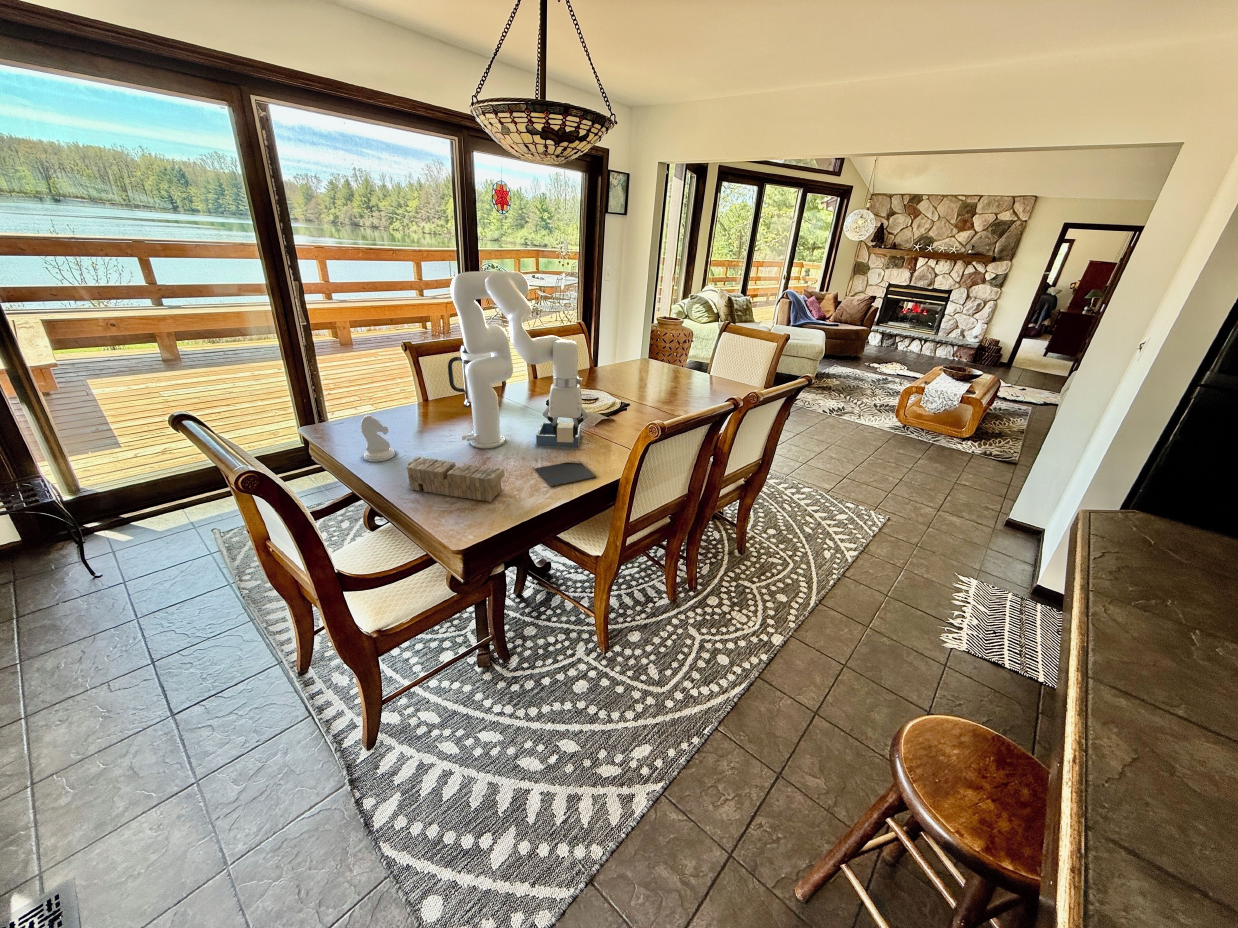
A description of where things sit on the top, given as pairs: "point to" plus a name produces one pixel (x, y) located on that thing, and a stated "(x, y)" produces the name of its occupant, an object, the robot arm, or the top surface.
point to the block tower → (455, 479)
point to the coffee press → (465, 360)
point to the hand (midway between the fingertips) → (565, 435)
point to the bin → (548, 438)
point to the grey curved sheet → (594, 418)
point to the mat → (565, 473)
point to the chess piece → (375, 440)
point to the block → (565, 432)
